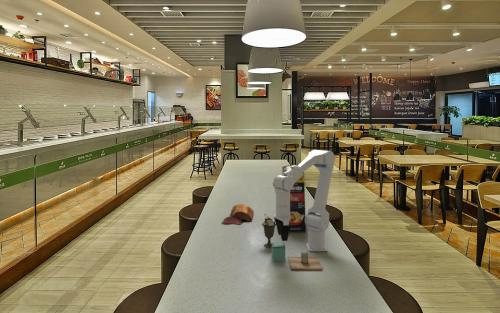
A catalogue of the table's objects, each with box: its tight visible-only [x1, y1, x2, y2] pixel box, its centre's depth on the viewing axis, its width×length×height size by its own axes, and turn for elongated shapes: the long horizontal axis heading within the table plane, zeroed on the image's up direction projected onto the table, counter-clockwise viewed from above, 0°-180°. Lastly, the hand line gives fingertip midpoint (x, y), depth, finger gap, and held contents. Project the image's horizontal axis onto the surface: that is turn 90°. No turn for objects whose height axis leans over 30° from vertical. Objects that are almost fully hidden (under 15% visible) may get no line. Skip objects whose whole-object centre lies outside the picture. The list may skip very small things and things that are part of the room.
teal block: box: [271, 242, 286, 262], centre depth 154 cm, size 5×5×6 cm
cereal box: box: [281, 164, 307, 233], centre depth 201 cm, size 27×11×32 cm, turn 177°
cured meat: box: [221, 203, 254, 225], centre depth 216 cm, size 18×25×7 cm
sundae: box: [261, 213, 277, 249], centre depth 169 cm, size 7×7×15 cm
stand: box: [287, 250, 324, 272], centre depth 148 cm, size 12×12×5 cm
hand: (282, 237), depth 152 cm, fingers open, 7 cm apart
